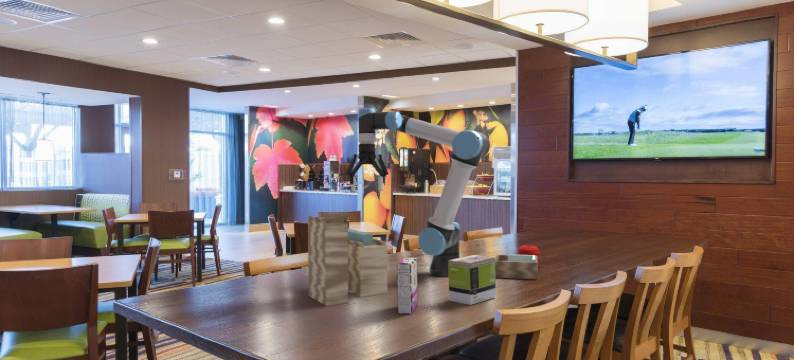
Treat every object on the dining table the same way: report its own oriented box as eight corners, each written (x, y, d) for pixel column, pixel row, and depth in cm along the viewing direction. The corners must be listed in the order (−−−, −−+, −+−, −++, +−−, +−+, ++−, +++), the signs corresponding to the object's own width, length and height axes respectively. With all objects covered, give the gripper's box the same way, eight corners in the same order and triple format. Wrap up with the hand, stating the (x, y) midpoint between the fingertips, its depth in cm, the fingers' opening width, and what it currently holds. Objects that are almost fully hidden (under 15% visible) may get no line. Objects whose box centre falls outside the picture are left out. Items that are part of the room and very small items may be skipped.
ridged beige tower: (387, 293, 200) (386, 241, 200) (360, 297, 195) (360, 243, 194) (361, 283, 219) (360, 235, 219) (336, 286, 214) (335, 237, 213)
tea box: (474, 293, 199) (473, 254, 199) (496, 298, 192) (496, 257, 192) (447, 300, 189) (447, 258, 188) (470, 305, 181) (470, 262, 181)
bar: (372, 244, 202) (372, 233, 202) (363, 245, 200) (363, 234, 200) (343, 237, 226) (343, 227, 226) (334, 237, 224) (334, 228, 224)
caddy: (537, 271, 242) (537, 255, 241) (537, 279, 224) (537, 262, 224) (496, 269, 246) (496, 254, 246) (493, 277, 229) (493, 261, 229)
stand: (348, 302, 186) (347, 213, 186) (326, 306, 182) (325, 214, 182) (329, 293, 201) (328, 210, 200) (308, 296, 197) (308, 211, 196)
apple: (518, 268, 249) (518, 245, 249) (517, 264, 259) (517, 242, 259) (540, 269, 248) (540, 245, 247) (538, 265, 257) (538, 242, 257)
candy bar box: (403, 305, 183) (403, 257, 183) (417, 305, 182) (417, 257, 182) (396, 313, 172) (396, 262, 172) (412, 314, 171) (411, 263, 171)
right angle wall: (507, 270, 244) (507, 254, 244) (535, 272, 241) (535, 255, 241) (506, 275, 232) (506, 258, 232) (534, 277, 229) (534, 259, 229)
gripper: (387, 144, 248) (387, 190, 248) (337, 143, 235) (338, 191, 236) (395, 143, 241) (395, 190, 242) (344, 142, 229) (345, 192, 229)
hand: (367, 191), depth 239 cm, fingers open, 13 cm apart
